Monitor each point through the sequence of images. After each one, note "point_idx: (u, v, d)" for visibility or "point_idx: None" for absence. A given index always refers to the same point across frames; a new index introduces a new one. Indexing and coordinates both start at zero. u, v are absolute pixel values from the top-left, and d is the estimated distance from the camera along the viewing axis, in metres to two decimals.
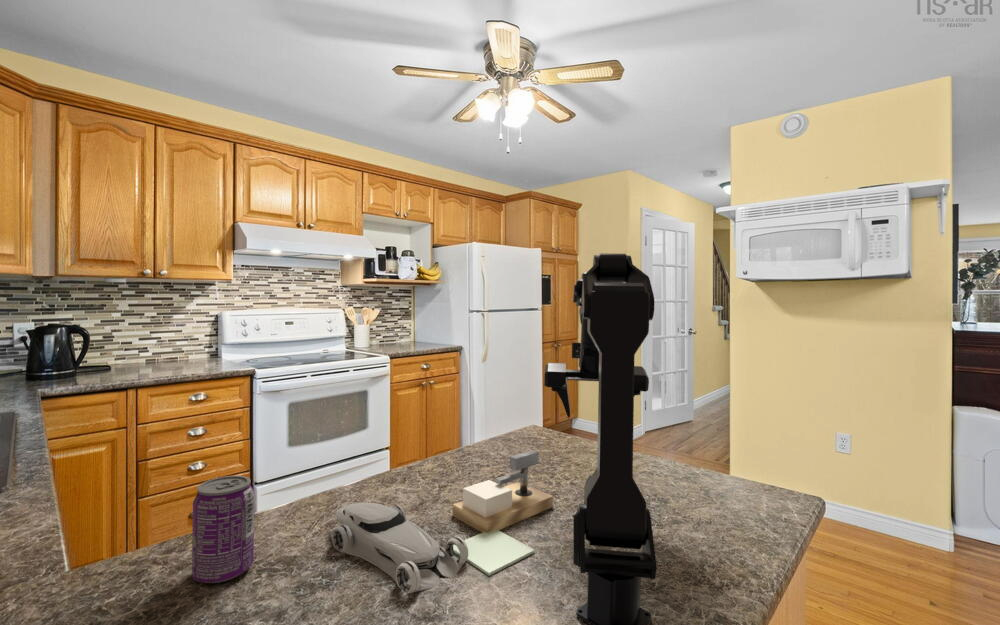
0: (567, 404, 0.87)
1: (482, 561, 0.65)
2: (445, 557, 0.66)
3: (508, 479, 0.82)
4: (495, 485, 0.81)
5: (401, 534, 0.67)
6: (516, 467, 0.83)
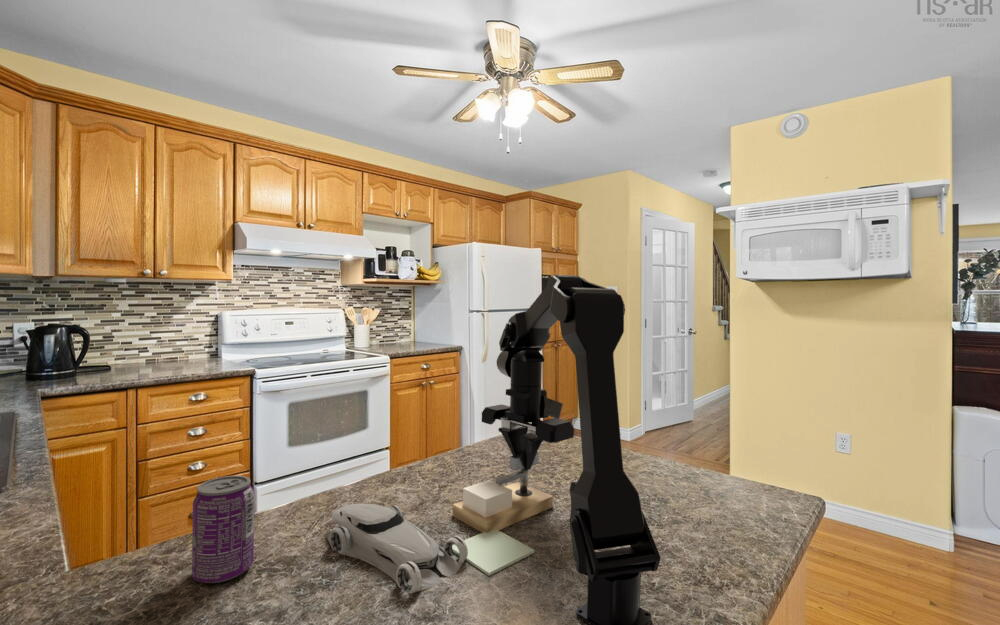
0: (512, 449, 0.85)
1: (482, 561, 0.65)
2: (444, 557, 0.66)
3: (508, 479, 0.82)
4: (495, 485, 0.81)
5: (400, 535, 0.67)
6: (516, 467, 0.83)
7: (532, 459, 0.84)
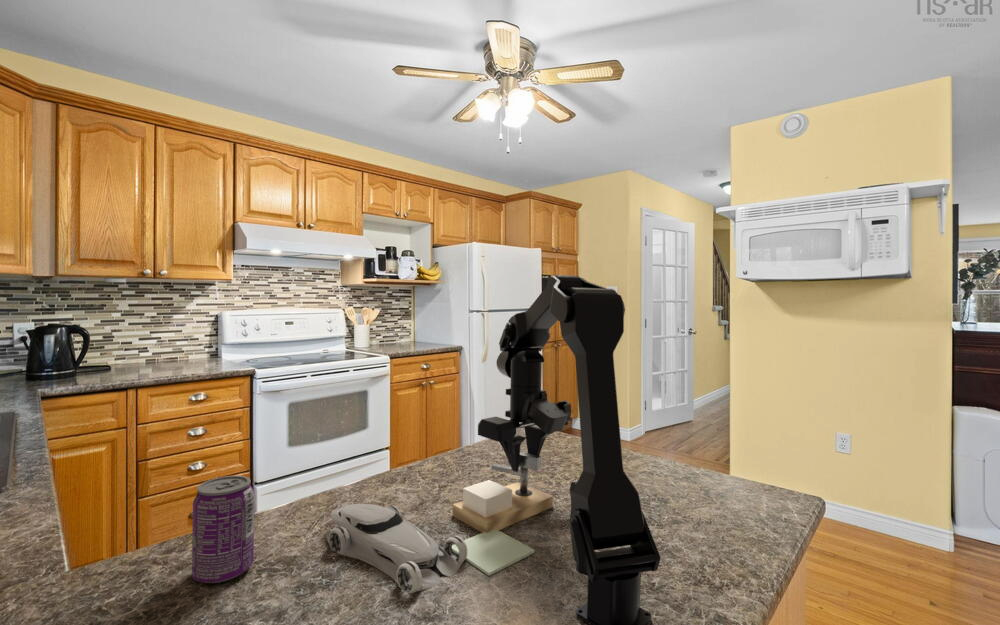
0: None
1: (482, 561, 0.65)
2: (444, 556, 0.66)
3: (500, 468, 0.87)
4: (495, 485, 0.81)
5: (399, 535, 0.67)
6: None
7: (513, 461, 0.83)
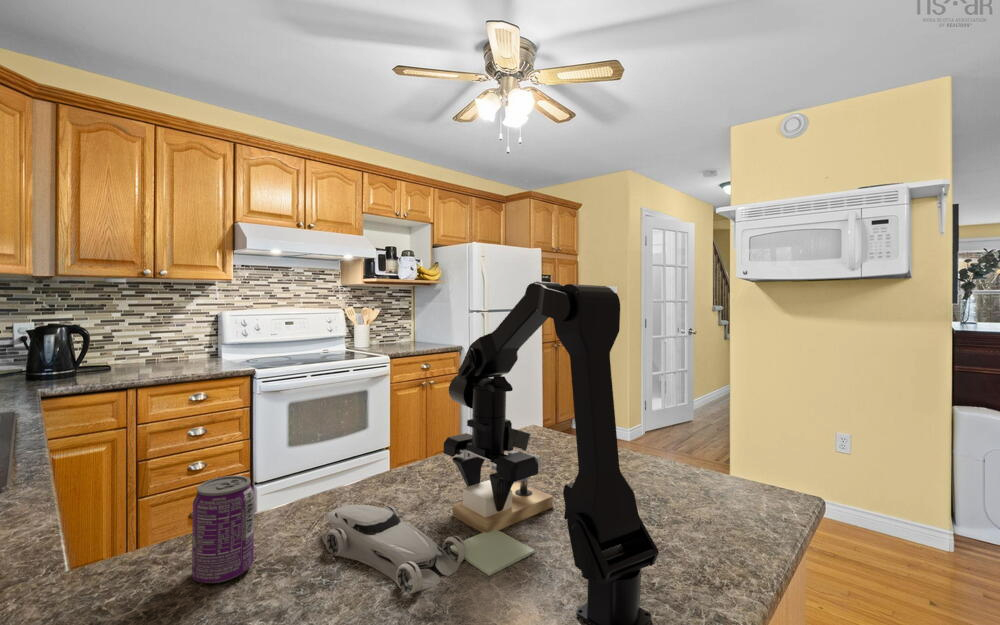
0: (466, 481, 0.81)
1: (482, 561, 0.65)
2: (443, 556, 0.66)
3: None
4: None
5: (398, 535, 0.66)
6: None
7: (504, 499, 0.77)
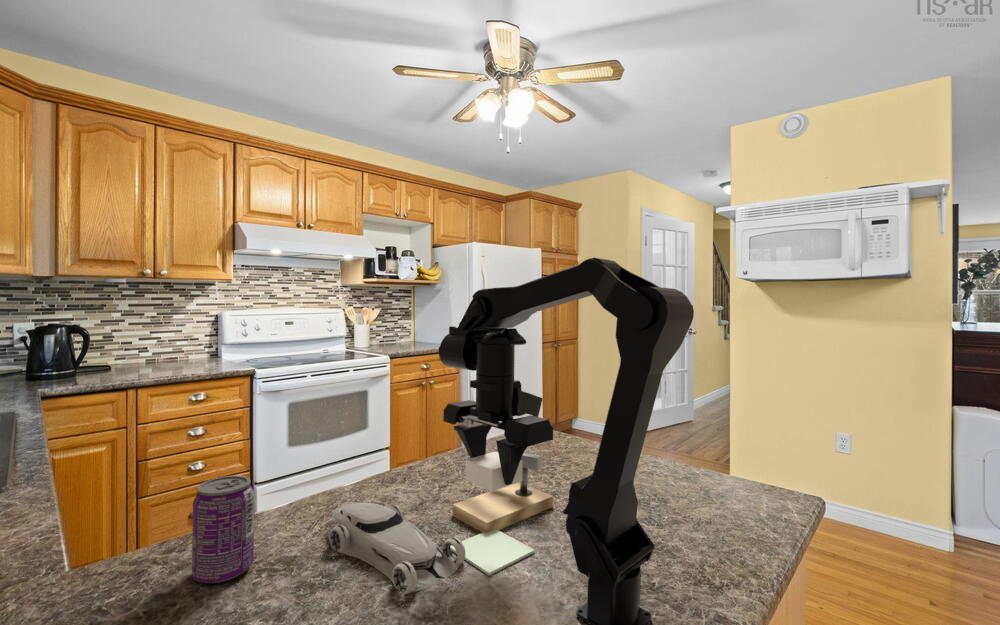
0: (470, 452, 0.70)
1: (482, 561, 0.65)
2: (442, 557, 0.66)
3: None
4: None
5: (398, 535, 0.67)
6: None
7: (513, 471, 0.66)
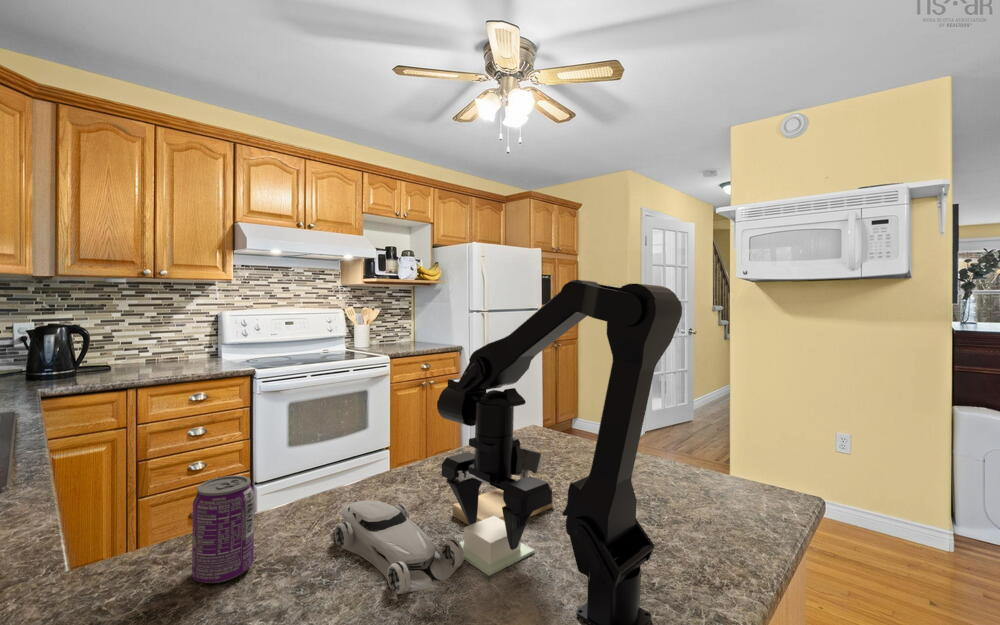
0: (462, 505, 0.71)
1: (482, 561, 0.65)
2: (441, 559, 0.65)
3: None
4: (501, 523, 0.70)
5: (398, 534, 0.67)
6: None
7: (519, 536, 0.65)
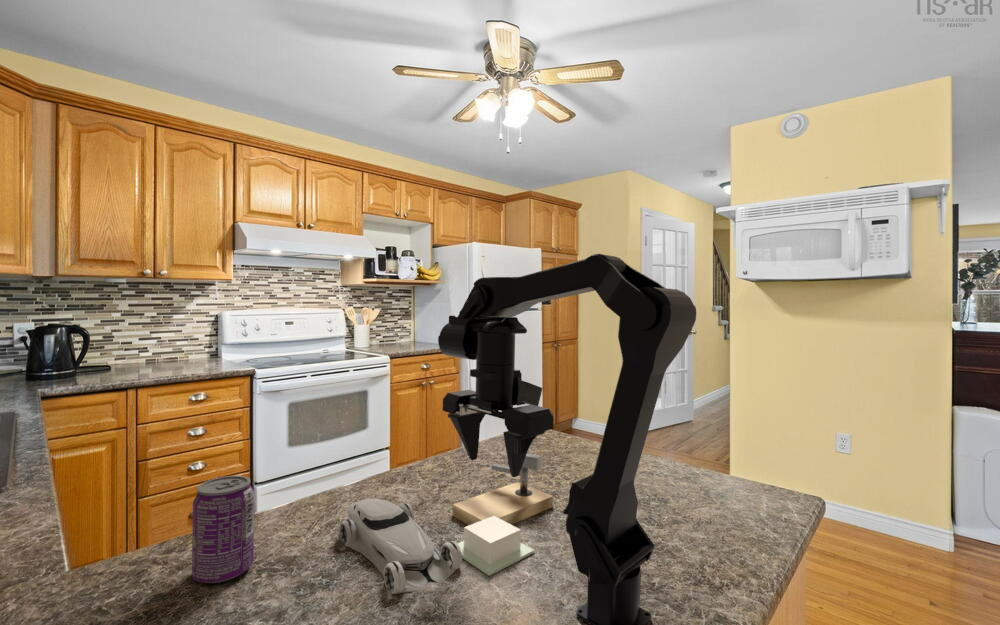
0: (463, 439, 0.71)
1: (482, 561, 0.65)
2: (440, 561, 0.65)
3: (500, 468, 0.87)
4: (501, 523, 0.70)
5: (399, 534, 0.67)
6: None
7: (520, 463, 0.65)
